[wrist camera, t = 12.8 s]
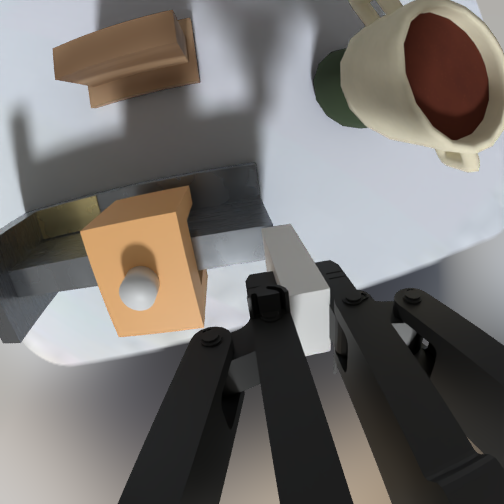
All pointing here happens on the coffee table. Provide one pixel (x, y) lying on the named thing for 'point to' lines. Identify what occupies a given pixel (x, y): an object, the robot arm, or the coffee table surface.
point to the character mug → (419, 79)
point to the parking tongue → (130, 58)
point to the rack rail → (89, 207)
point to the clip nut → (147, 263)
